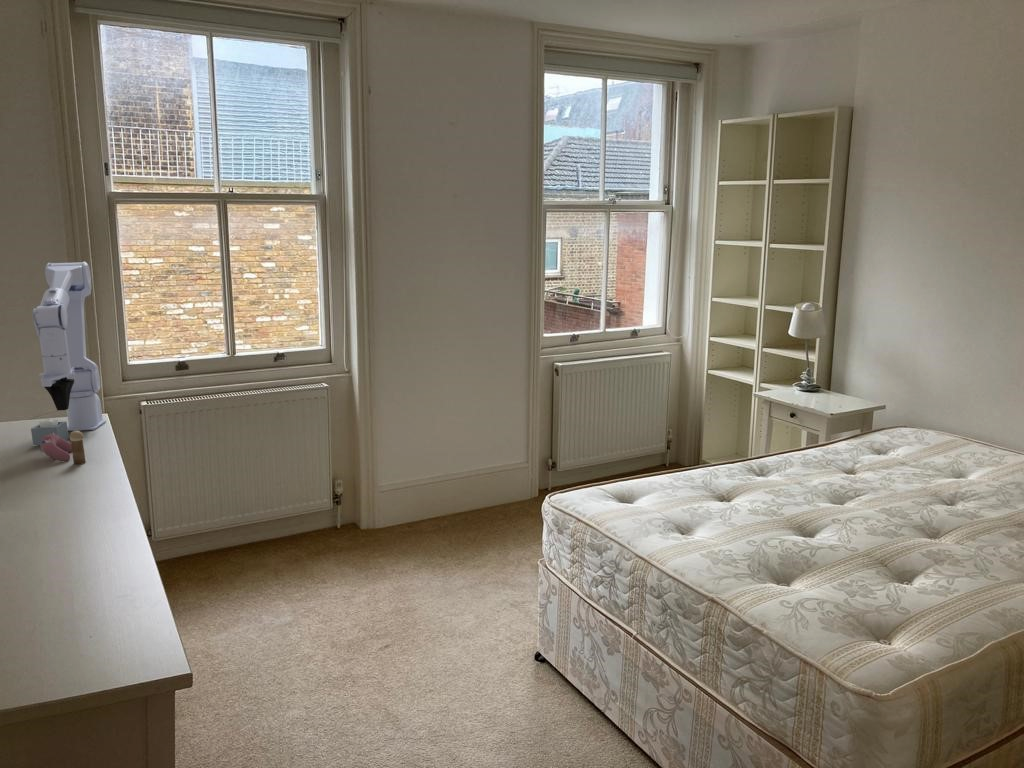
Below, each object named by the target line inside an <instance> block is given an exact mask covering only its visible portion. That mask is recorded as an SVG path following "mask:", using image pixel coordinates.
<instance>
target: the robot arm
mask: <svg viewBox="0 0 1024 768" xmlns="http://www.w3.org/2000/svg"><path fill="white" fill-rule="evenodd" d="M44 268H45V269H44V275H45V276H44V277H45V279H46V284H48V286H49V288H48V289H46V290H45V292H44V293H43V296H42V299H41V301H40V304H39V305H38V306H37V307H35V308H33V310H32V321H33V325H34V328H35V332H36V337H37V338H39V345H40V352H41V358H42V359H41V360H42V366H43V372H41V373H39V375H38V376H39V377H40V384H41V385H40V386H41V387H42V388H44V389H45V390H46V391H47V392H48V393H49V395H50V397H51V399H52V401H53V404H54V406H55V408H56V411H66V414H67V415H66V416H67V429H68V432H70V431H71V432H73V431H93V430H96V429H97V428H99V427H100V426H102V425H103V424H105V423H106V422H107V419H103V411H102V404H101V398H100V397H99V395H98V394H97V393H99V391H100V390H101V377H100V376H101V375H100V373H99V371H100V370H99V366H98V364H97V363H95V362H94V361H92V360H91V359H89V358H88V357H87V347H86V346H87V345H86V344H87V343H86V342H87V341H86V326H85V325H86V324H85V322H86V321H85V299H86V297H88V296H90V295H91V293H92V276H91V275H92V274H91V269H90V265H89V264H88V263H87V261H82V262H57V263H56V262H48V263H47V264H46V265H45V267H44Z"/></svg>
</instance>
